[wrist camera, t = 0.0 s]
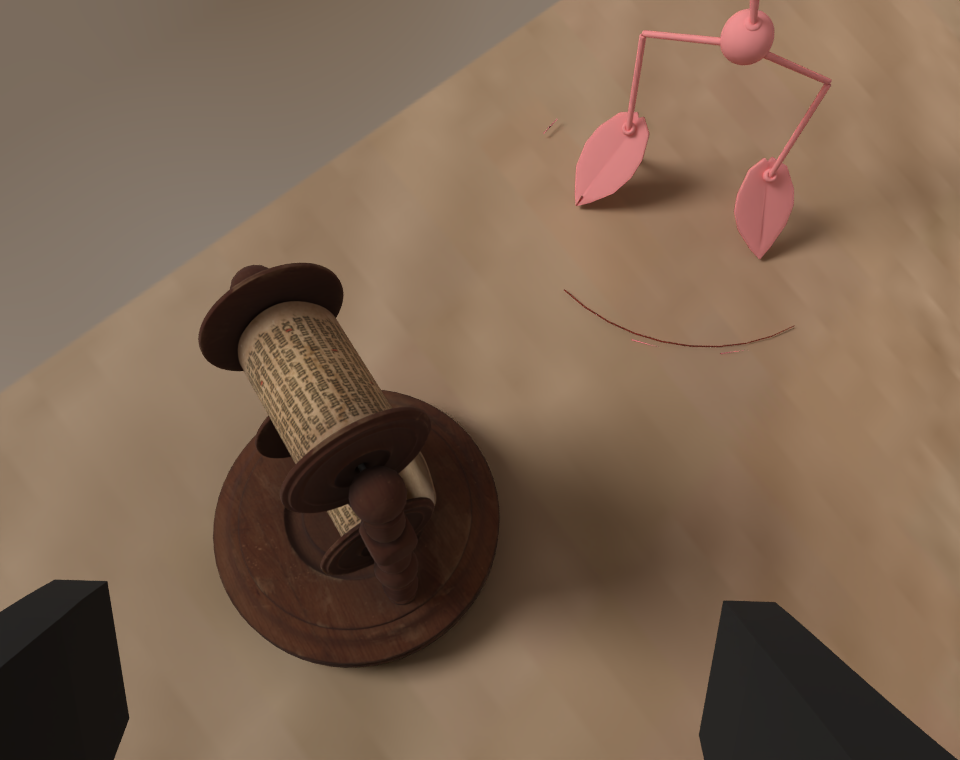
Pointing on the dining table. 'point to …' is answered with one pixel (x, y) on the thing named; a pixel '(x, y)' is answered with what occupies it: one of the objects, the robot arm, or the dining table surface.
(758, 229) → the figurine
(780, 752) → the robot arm
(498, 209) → the dining table surface
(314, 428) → the dark brown tall piece
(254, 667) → the dining table surface
